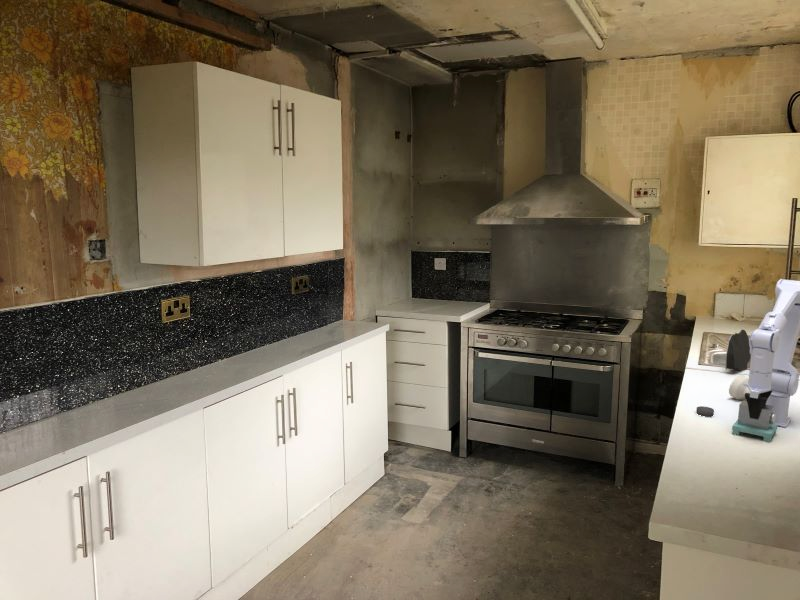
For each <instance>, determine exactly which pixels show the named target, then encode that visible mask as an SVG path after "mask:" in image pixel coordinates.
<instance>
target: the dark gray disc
mask: <svg viewBox="0 0 800 600" xmlns="http://www.w3.org/2000/svg"><path fill="white" fill-rule="evenodd" d="M696 413H697V414H698V415H697V414H696ZM714 413H715V410H714V408H712V407H709V406H701V405H700V406H697V407H696V411H695V414H696V415H697V416H699V415H701V416H700V417H703V416H705V418H712V417H711V416H713V415H714ZM713 417H714V416H713Z"/></svg>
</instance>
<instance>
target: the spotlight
mask: <svg viewBox="0 0 800 600" xmlns="http://www.w3.org/2000/svg"><path fill="white" fill-rule="evenodd" d="M748 381H749V377H746V376H744V375H739V376H736V377H735V378H734V379H733V381H732V382H731V384H730V386H729V389H728V393H729V396H730V397H732V398H734V399H736V400H738V401H743V400H746V399H745V393H750V390H749V389H748V387H747V386H743V384H744V383H745V382H747V383H748Z"/></svg>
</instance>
